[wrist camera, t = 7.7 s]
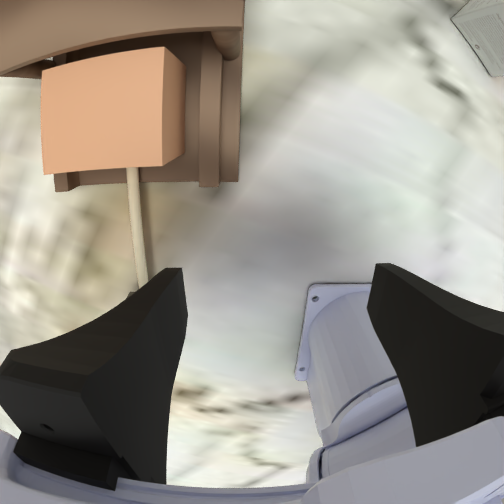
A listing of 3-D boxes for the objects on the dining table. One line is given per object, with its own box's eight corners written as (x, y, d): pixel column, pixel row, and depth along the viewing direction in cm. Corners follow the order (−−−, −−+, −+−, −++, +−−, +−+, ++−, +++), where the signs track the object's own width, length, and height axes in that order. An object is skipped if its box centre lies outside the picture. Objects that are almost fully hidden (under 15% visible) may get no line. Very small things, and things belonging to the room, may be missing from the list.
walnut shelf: (238, 178, 18) (235, 217, 11) (63, 183, 18) (-9, 220, 11) (246, -31, 12) (249, -99, 5) (70, -5, 12) (7, -38, 5)
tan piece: (191, 313, 21) (180, 364, 16) (111, 308, 20) (85, 354, 16) (186, 66, 14) (164, 46, 10) (89, 78, 14) (42, 70, 9)
